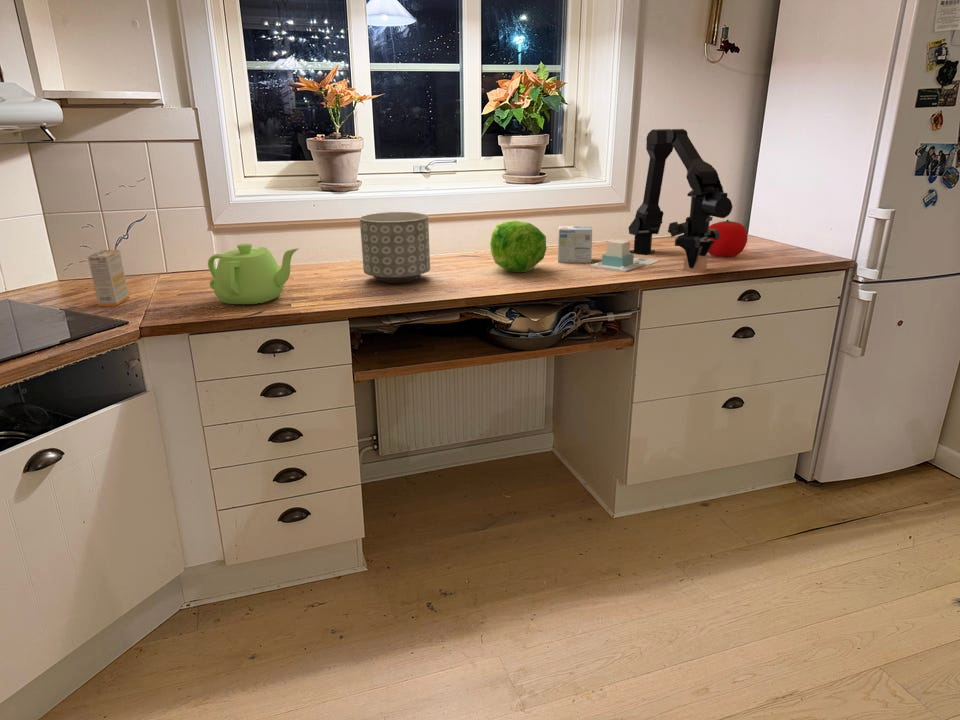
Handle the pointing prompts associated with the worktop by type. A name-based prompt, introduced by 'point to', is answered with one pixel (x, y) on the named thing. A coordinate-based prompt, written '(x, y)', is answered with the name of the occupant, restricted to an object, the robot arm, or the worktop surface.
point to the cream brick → (618, 248)
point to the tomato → (728, 239)
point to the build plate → (623, 269)
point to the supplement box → (108, 277)
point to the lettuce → (517, 246)
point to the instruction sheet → (644, 261)
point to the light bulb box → (575, 244)
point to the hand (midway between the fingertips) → (695, 266)
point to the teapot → (249, 275)
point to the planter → (395, 245)
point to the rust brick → (696, 264)
